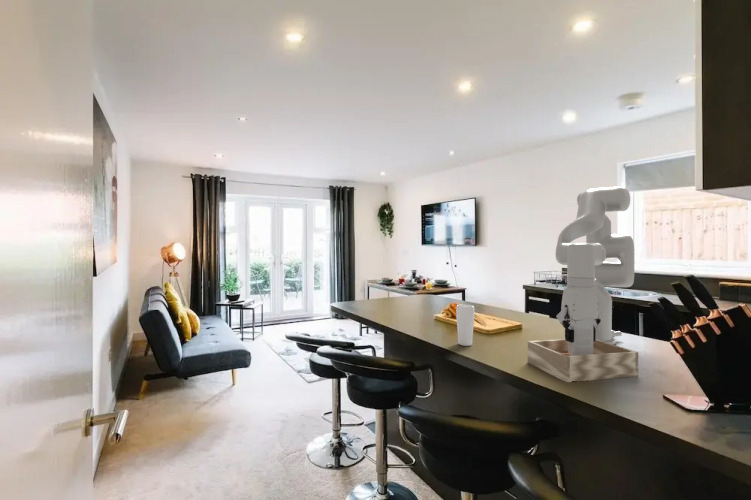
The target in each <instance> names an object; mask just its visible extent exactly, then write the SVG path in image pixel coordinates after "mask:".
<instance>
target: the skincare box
mask: <svg viewBox="0 0 751 500" xmlns="http://www.w3.org/2000/svg"><path fill="white" fill-rule="evenodd" d="M569 323H570V322H569ZM572 329H574V342H573V343H571V342H568V354H569V355H571V356H576V355H591V354H593V319H592V318H588V319H584V320H580V321H575V324H574V326H573V328H572Z"/></svg>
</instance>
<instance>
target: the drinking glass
mask: <svg viewBox="0 0 751 500" xmlns="http://www.w3.org/2000/svg"><path fill="white" fill-rule="evenodd" d="M455 313H456V314H455V316H456V317H455V318H456V328H457V343H458V344H459V345H460V346H462V347H469V346H470V347H471V346H472V345H473V338H474V337H473V335H474V326H475V325H474V324H475V306H474V305H472V304H465V303H464V304H462V303H461V304H457V305H456V312H455Z"/></svg>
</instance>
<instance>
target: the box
mask: <svg viewBox="0 0 751 500" xmlns="http://www.w3.org/2000/svg"><path fill="white" fill-rule="evenodd" d="M527 364H530V365H531V366H533V367H536V368H538V369H539V370H541V371H544V372H545V373H547V374H549V375H551V376H553V377H555V378H557V379H559V380H561V381H563V382H565V383H573V382H572V381H577V382H586V381H587V380H588V381H598V380H599V381H601V380H609V379H623V378H633V377H639V351H635V350H632V349H628V348H625V347H623V346H619V345H616V344H610V343H607V342H603V341H600V340H597V339H596V340H595V341H593V354H591V355H576V356H571V355H569V354H568V341H566V340H565V338H564V339H563V338H560V339H559V338H558V339H544V340H543V339H542V340H528V341H527Z"/></svg>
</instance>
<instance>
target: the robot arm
mask: <svg viewBox="0 0 751 500" xmlns="http://www.w3.org/2000/svg"><path fill="white" fill-rule="evenodd" d="M576 203H577V206H578V208H577V213H576V219H575V220H573V221H572V222H571V223H569V224H567V225H566V226H565V227H564V228H563V229H562V230H561V231H560V233H559V235H558V236H557V243H556V246H555V247H556V248H555V260H556V262H557V263H558V264H559V265H561V266H562V265H563V266H566V274H567V275H566V286H564V288H563V292H562V298H561V307H560V309H561V310H560V312H559V313H557V315H556V317H555V318H556V319H557V320H558V321H559V323H560V324H561V325H562V327H563V328H564V339H565V340H566V341H568V342H571V343H573V342H574V329H572V328H573V326H574V324H575V321H580V320H584V319H588V318H592V319H593V341H595V340H596V339H597V340H600V341H603V342H607V343H610V344H613V345H616V344H617V340H616V339H615V337H621V336H622V332H621V331H620V330H618V331H614V330H613V329H612V327H613V326H612V325H613V323H612V319H613V316H612V315H613V309H612V308H613V299H612V296H611V294H610V292H608V290H607V289H606V288H605V287H612V288H630V287H632V286H633V284H634V282H635V243H634V239H633V238H632V236H631V235H629V234H624V233H619V234H618V233H617V234H616V233H613V234H612V221H611V219H610V218H609V217H608V216H607V214H606V213H607V212H608V213H609V212H611V213H612V212H626V211H627V210H628V208H629V207H630V205H631V193H630V191H629V190H628V189H627V188H626V187H622V186H612V187H611V186H609V187H596V188H589V189H587V190H584V191H582V192H580V193H579V194H578V195H577V198H576ZM582 237H585V241H586V242H573V241H574V240H576V239H579V238H582ZM606 259H607V260H609V259H610V260H611V259H612V260H614V259H615V260H619V261H620V262H616V261H614V262H611V261H610V262H609V261H605V260H606ZM569 322H570V323H569Z"/></svg>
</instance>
